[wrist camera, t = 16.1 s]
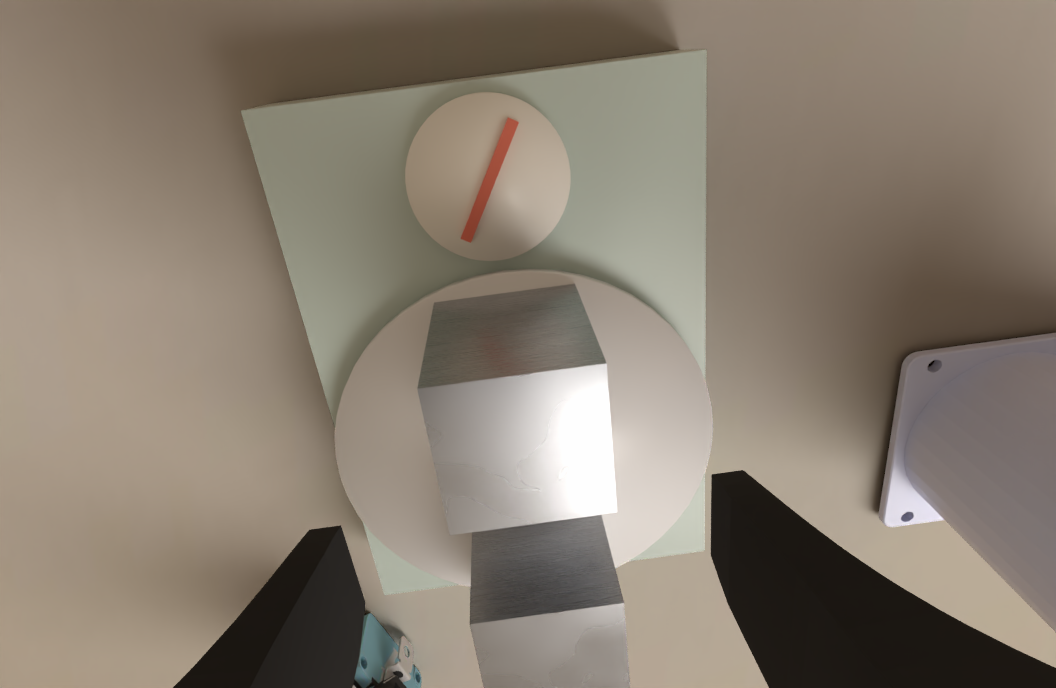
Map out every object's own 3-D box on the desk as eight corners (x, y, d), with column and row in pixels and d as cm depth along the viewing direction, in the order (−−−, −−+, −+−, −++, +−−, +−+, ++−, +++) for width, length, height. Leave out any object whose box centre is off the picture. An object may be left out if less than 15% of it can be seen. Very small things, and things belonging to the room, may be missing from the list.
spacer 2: (592, 482, 21) (624, 602, 16) (601, 572, 22) (631, 704, 18) (472, 498, 21) (469, 624, 16) (490, 587, 22) (491, 724, 18)
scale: (679, 49, 18) (717, 49, 15) (685, 508, 25) (711, 566, 23) (269, 103, 18) (228, 113, 15) (393, 548, 25) (381, 612, 22)
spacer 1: (574, 283, 18) (606, 363, 13) (585, 404, 19) (617, 512, 15) (434, 302, 18) (417, 388, 13) (457, 422, 19) (449, 535, 15)
